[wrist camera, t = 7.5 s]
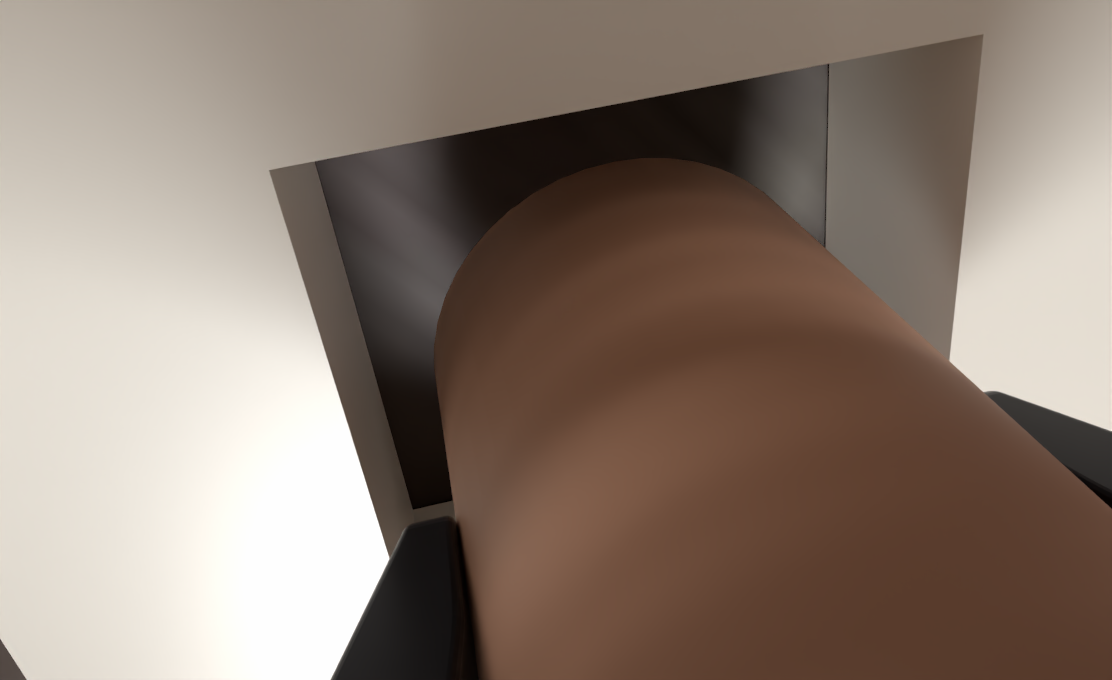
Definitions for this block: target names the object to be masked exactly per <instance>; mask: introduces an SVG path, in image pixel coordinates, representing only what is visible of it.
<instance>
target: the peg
mask: <svg viewBox="0 0 1112 680" xmlns="http://www.w3.org/2000/svg"><path fill="white" fill-rule="evenodd" d="M434 371H435V378H436V385H437V392H438V399H439V406H440V412H441V419H442V426H443V433H444V440H445V447H446V454H447V461H448V468H449V475H450V482H451V489H452V496H453V503H454V510H455V517H456V524H457V527H458V534H459V541H460V548H461V555H462V562H463V569H464V576H465V583H466V590H467V597H468V604H469V611H470V618H471V625H472V632H473V639H474V647H475V655H476V664H477V671H478V678H479V680H1112V509H1111V508H1110V507H1109V506H1108V505H1107V504H1106V503H1105V502H1104V501H1103V500H1101V499H1100V498H1099V497H1098V496H1097V495H1096V494H1095V493H1094V492H1093V491H1092V490H1090V489H1089V488H1088V487H1087V486H1086V485H1085V484H1084V483H1083V482H1082V481H1081V480H1079V479H1078V478H1077V477H1076V476H1075V475H1074V474H1073V473H1072V472H1071V471H1070V470H1068V469H1067V468H1066V467H1065V466H1064V465H1063V464H1062V463H1061V462H1060V461H1059V460H1057V459H1056V458H1055V457H1054V456H1053V455H1052V454H1051V453H1050V452H1049V451H1048V450H1046V449H1045V448H1044V447H1043V446H1042V445H1041V444H1040V443H1039V442H1038V441H1037V440H1035V439H1034V438H1033V437H1032V436H1031V435H1030V434H1029V433H1028V432H1027V431H1026V430H1025V429H1023V428H1022V427H1021V426H1020V425H1019V424H1018V423H1017V422H1016V421H1015V420H1014V419H1012V418H1011V417H1010V416H1009V415H1008V414H1007V413H1006V412H1005V411H1004V410H1003V409H1001V408H1000V407H999V406H998V405H997V404H996V403H995V402H994V401H993V400H992V399H990V398H989V397H988V396H987V395H986V394H985V393H984V392H983V391H982V390H981V389H979V388H978V387H977V386H976V385H975V384H974V383H973V382H972V381H971V380H970V379H968V378H967V377H966V376H965V375H964V374H963V373H962V372H961V371H960V370H959V369H957V368H956V367H955V366H954V365H953V364H952V363H951V362H950V361H949V360H948V359H946V358H945V357H944V356H943V355H942V354H941V353H940V352H939V351H938V350H937V349H935V348H934V347H933V346H932V345H931V344H930V343H929V342H928V341H927V340H926V339H925V338H923V337H922V336H921V335H920V334H919V333H918V332H917V331H916V330H915V329H914V328H912V327H911V326H910V325H909V324H908V323H907V322H906V321H905V320H904V319H903V318H901V317H900V316H899V315H898V314H897V313H896V312H895V311H894V310H893V309H892V308H890V307H889V306H888V305H887V304H886V303H885V302H884V301H883V300H882V299H881V298H879V297H878V296H877V295H876V294H875V293H874V292H873V291H872V290H871V289H870V288H868V287H867V286H866V285H865V284H864V283H863V282H862V281H861V280H860V279H859V278H857V277H856V276H855V275H854V274H853V273H852V272H851V271H850V270H849V269H848V268H846V267H845V266H844V265H843V264H842V263H841V262H840V261H839V260H838V259H837V258H835V257H834V256H833V255H832V254H831V253H830V252H829V251H828V250H827V249H826V248H825V247H823V246H822V245H821V244H820V243H819V242H818V241H817V240H816V239H815V238H814V237H812V236H811V235H810V234H809V233H808V232H807V231H806V230H805V229H804V228H803V227H801V226H800V225H799V224H798V223H797V222H796V221H795V220H794V219H793V218H792V217H790V216H789V215H788V214H787V213H786V212H785V211H784V210H783V209H782V208H781V207H779V206H778V205H777V204H776V203H775V202H774V201H773V200H772V199H771V198H769V197H768V196H767V195H766V194H765V193H764V192H762V191H761V190H759V189H758V188H756V187H755V186H753V185H752V184H750V183H748V182H747V181H745V180H744V179H742V178H740V177H737V176H735V175H733V174H731V173H728V172H726V171H724V170H722V169H719V168H716V167H712V166H708V165H705V164H701V163H698V162H693V161H686V160H678V159H671V158H639V159H631V160H624V161H616V162H611V163H607V164H603V165H599V166H595V167H592V168H588V169H584V170H582V171H579V172H577V173H574V174H572V175H569V176H567V177H564V178H562V179H559V180H557V181H555V182H553V183H552V184H550V185H548V186H546V187H544V188H543V189H541V190H539V191H537V192H535V193H533V194H532V195H530V196H529V197H528V198H526V199H525V200H523V201H522V202H521V203H519V204H518V205H517V206H515V207H514V208H512V209H511V210H510V211H508V212H507V213H506V214H505V215H504V216H503V217H502V218H501V219H500V220H499V221H498V222H497V223H495V224H494V225H493V226H492V227H491V228H490V229H489V230H488V231H487V232H486V233H485V235H484V236H483V237H482V238H481V239H480V241H479V242H478V243H477V244H476V245H475V247H474V248H473V249H472V250H471V251H470V253H469V254H468V256H467V258H466V259H465V261H464V262H463V264H462V265H461V267H460V269H459V270H458V272H457V273H456V275H455V277H454V279H453V282H452V284H451V286H450V288H449V290H448V293H447V295H446V297H445V300H444V303H443V306H442V310H441V313H440V316H439V320H438V324H437V331H436V337H435V344H434Z"/></svg>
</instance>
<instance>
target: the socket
mask: <svg viewBox="0 0 1112 680" xmlns="http://www.w3.org/2000/svg"><path fill="white" fill-rule="evenodd" d="M824 64H829V101H828V149H827V198H826V246H825V248H826V249H827V250H828V251H829V252H830V253H831V254H832V255H833V256H834V257H835V258H837V259H838V260H839V261H840V262H841V263H842V264H843V265H844V266H845V267H846V268H848V269H849V270H850V271H851V272H852V273H853V274H854V275H855V276H856V277H857V278H859V279H860V280H861V281H862V282H863V283H864V284H865V285H866V286H867V287H868V288H870V289H871V290H872V291H873V292H874V293H875V294H876V295H877V296H878V297H879V298H881V299H882V300H883V301H884V302H885V303H886V304H887V305H888V306H889V307H890V308H892V309H893V310H894V311H895V312H896V313H897V314H898V315H899V316H900V317H901V318H903V319H904V320H905V321H906V322H907V323H908V324H909V325H910V326H911V327H912V328H914V329H915V330H916V331H917V332H918V333H919V334H920V335H921V336H922V337H923V338H925V339H926V340H927V341H928V342H929V343H930V344H931V345H932V346H933V347H934V348H935V349H937V350H938V351H939V352H940V353H941V354H942V355H943V356H944V357H945V358H946V359H948V360H949V361H950V362H951V363H952V364H953V365H954V366H955V367H956V368H957V369H959V370H960V371H961V372H962V373H963V374H964V375H965V376H966V377H967V378H968V379H970V380H971V381H972V382H973V383H974V384H975V385H976V386H977V387H978V388H979V389H981V390H982V391H983V392H986V391H998V392H1002V393H1005V394H1008V395H1010V396H1013V397H1016V398H1019V399H1022V400H1025V401H1027V402H1030V403H1033V404H1036V405H1039V406H1042V407H1044V408H1047V409H1050V410H1053V411H1056V412H1059V413H1061V414H1064V415H1067V416H1070V417H1073V418H1076V419H1078V420H1081V421H1084V422H1087V423H1090V424H1093V425H1095V426H1098V427H1101V428H1104V429H1107V430H1109V431H1112V0H0V639H1V641H2V642H3V644H4V645H5V647H6V648H7V650H8V652H9V653H10V655H11V656H12V658H13V659H14V661H15V662H16V664H17V665H18V667H19V668H20V670H21V671H22V673H23V675H24V676H25V678H26V679H27V680H331V677H332V675H333V673H334V671H335V669H336V667H337V665H338V663H339V661H340V659H341V657H342V655H343V653H344V651H345V649H346V647H347V645H348V643H349V641H350V639H351V637H352V634H353V632H354V630H355V628H356V626H357V624H358V622H359V620H360V618H361V616H362V614H363V612H364V610H365V608H366V606H367V604H368V602H369V600H370V598H371V596H372V593H373V591H374V589H375V587H376V585H377V583H378V581H379V579H380V577H381V575H382V573H383V571H384V569H385V567H386V565H387V563H388V561H389V559H390V557H391V555H392V552H393V550H394V548H395V546H396V544H397V542H398V540H399V538H400V536H401V534H402V532H403V530H404V529H405V528H406V527H407V526H408V525H410V524H412V523H416V522H420V521H425V520H429V519H433V518H438V517H442V516H451V517H452V518H453V519H454V520H455V521H456V517H455V510H454V503H453V501H449V502H445V503H440V504H436V505H432V506H427V507H423V508H418V509H414V510H413V509H412V505H411V502H410V498H409V495H408V491H407V488H406V484H405V480H404V477H403V473H402V470H401V466H400V463H399V459H398V456H397V452H396V449H395V445H394V441H393V438H392V434H391V431H390V427H389V424H388V420H387V417H386V413H385V410H384V406H383V402H382V399H381V395H380V392H379V388H378V385H377V381H376V378H375V374H374V371H373V367H372V363H371V360H370V356H369V353H368V349H367V346H366V342H365V339H364V335H363V332H362V328H361V324H360V321H359V317H358V314H357V310H356V307H355V303H354V300H353V296H352V293H351V289H350V285H349V282H348V278H347V275H346V271H345V268H344V264H343V261H342V257H341V254H340V250H339V246H338V243H337V239H336V236H335V232H334V229H333V225H332V222H331V218H330V215H329V211H328V207H327V204H326V200H325V197H324V193H323V190H322V186H321V183H320V179H319V175H318V172H317V168H316V165H315V161H319V160H324V159H330V158H335V157H340V156H345V155H351V154H356V153H361V152H366V151H372V150H377V149H382V148H387V147H393V146H398V145H403V144H408V143H414V142H419V141H424V140H430V139H435V138H440V137H445V136H451V135H456V134H461V133H466V132H472V131H477V130H482V129H487V128H493V127H498V126H503V125H508V124H514V123H519V122H524V121H529V120H535V119H540V118H545V117H550V116H556V115H561V114H566V113H571V112H577V111H582V110H587V109H592V108H598V107H603V106H608V105H613V104H619V103H624V102H629V101H635V100H640V99H645V98H650V97H656V96H661V95H666V94H671V93H677V92H682V91H687V90H692V89H698V88H703V87H708V86H713V85H719V84H724V83H729V82H734V81H740V80H745V79H750V78H755V77H761V76H766V75H771V74H776V73H782V72H787V71H792V70H797V69H803V68H808V67H813V66H818V65H824Z"/></svg>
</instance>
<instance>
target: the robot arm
mask: <svg viewBox="0 0 1112 680" xmlns="http://www.w3.org/2000/svg"><path fill="white" fill-rule="evenodd" d="M984 393H985V394H986V395H987V396H988V397H989V398H990V399H992V400H993V401H994V402H995V403H996V404H997V405H998V406H999V407H1000V408H1001V409H1003V410H1004V411H1005V412H1006V413H1007V414H1008V415H1009V416H1010V417H1011V418H1012V419H1014V420H1015V421H1016V422H1017V423H1018V424H1019V425H1020V426H1021V427H1022V428H1023V429H1025V430H1026V431H1027V432H1028V433H1029V434H1030V435H1031V436H1032V437H1033V438H1034V439H1035V440H1037V441H1038V442H1039V443H1040V444H1041V445H1042V446H1043V447H1044V448H1045V449H1046V450H1048V451H1049V452H1050V453H1051V454H1052V455H1053V456H1054V457H1055V458H1056V459H1057V460H1059V461H1060V462H1061V463H1062V464H1063V465H1064V466H1065V467H1066V468H1067V469H1068V470H1070V471H1071V472H1072V473H1073V474H1074V475H1075V476H1076V477H1077V478H1078V479H1079V480H1081V481H1082V482H1083V483H1084V484H1085V485H1086V486H1087V487H1088V488H1089V489H1090V490H1092V491H1093V492H1094V493H1095V494H1096V495H1097V496H1098V497H1099V498H1100V499H1101V500H1103V501H1104V502H1105V503H1106V504H1107V505H1108V506H1109V507H1110V508H1111V509H1112V431H1109V430H1107V429H1104V428H1101V427H1098V426H1095V425H1093V424H1090V423H1087V422H1084V421H1081V420H1078V419H1076V418H1073V417H1070V416H1067V415H1064V414H1061V413H1059V412H1056V411H1053V410H1050V409H1047V408H1044V407H1042V406H1039V405H1036V404H1033V403H1030V402H1027V401H1025V400H1022V399H1019V398H1016V397H1013V396H1010V395H1008V394H1005V393H1002V392H998V391H986V392H984ZM331 680H479V678H478V671H477V664H476V655H475V647H474V639H473V632H472V625H471V618H470V611H469V604H468V597H467V590H466V583H465V576H464V569H463V562H462V555H461V548H460V541H459V534H458V527H457V524H456V521H455V520H454V519H453V518H452V517H451V516H442V517H438V518H433V519H429V520H425V521H420V522H416V523H412V524H410V525H408V526H407V527H406V528H405V529H404V530H403V532H402V534H401V536H400V538H399V540H398V542H397V544H396V546H395V548H394V550H393V552H392V555H391V557H390V559H389V561H388V563H387V565H386V567H385V569H384V571H383V573H382V575H381V577H380V579H379V581H378V583H377V585H376V587H375V589H374V591H373V593H372V596H371V598H370V600H369V602H368V604H367V606H366V608H365V610H364V612H363V614H362V616H361V618H360V620H359V622H358V624H357V626H356V628H355V630H354V632H353V634H352V637H351V639H350V641H349V643H348V645H347V647H346V649H345V651H344V653H343V655H342V657H341V659H340V661H339V663H338V665H337V667H336V669H335V671H334V673H333V675H332V677H331Z"/></svg>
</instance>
